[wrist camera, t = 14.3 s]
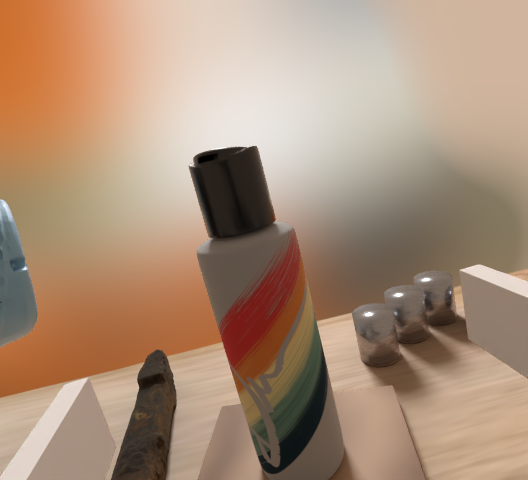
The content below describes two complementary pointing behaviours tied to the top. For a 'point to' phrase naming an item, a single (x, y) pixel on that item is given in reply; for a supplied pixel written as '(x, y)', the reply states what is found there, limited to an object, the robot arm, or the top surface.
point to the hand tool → (148, 423)
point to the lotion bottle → (266, 318)
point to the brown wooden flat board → (354, 437)
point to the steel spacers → (404, 317)
